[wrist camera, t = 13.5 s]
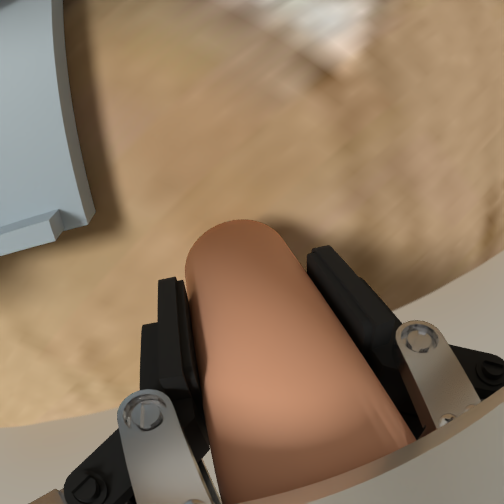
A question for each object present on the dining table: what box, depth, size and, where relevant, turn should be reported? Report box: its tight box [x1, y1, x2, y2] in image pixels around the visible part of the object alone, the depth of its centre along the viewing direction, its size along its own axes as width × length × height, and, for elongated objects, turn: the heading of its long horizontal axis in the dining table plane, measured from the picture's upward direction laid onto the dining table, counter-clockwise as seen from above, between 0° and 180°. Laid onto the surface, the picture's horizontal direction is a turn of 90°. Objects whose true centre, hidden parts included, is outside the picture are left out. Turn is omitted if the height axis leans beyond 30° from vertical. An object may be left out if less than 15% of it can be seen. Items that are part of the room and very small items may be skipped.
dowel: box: [185, 220, 416, 504], centre depth 7 cm, size 4×4×12 cm
